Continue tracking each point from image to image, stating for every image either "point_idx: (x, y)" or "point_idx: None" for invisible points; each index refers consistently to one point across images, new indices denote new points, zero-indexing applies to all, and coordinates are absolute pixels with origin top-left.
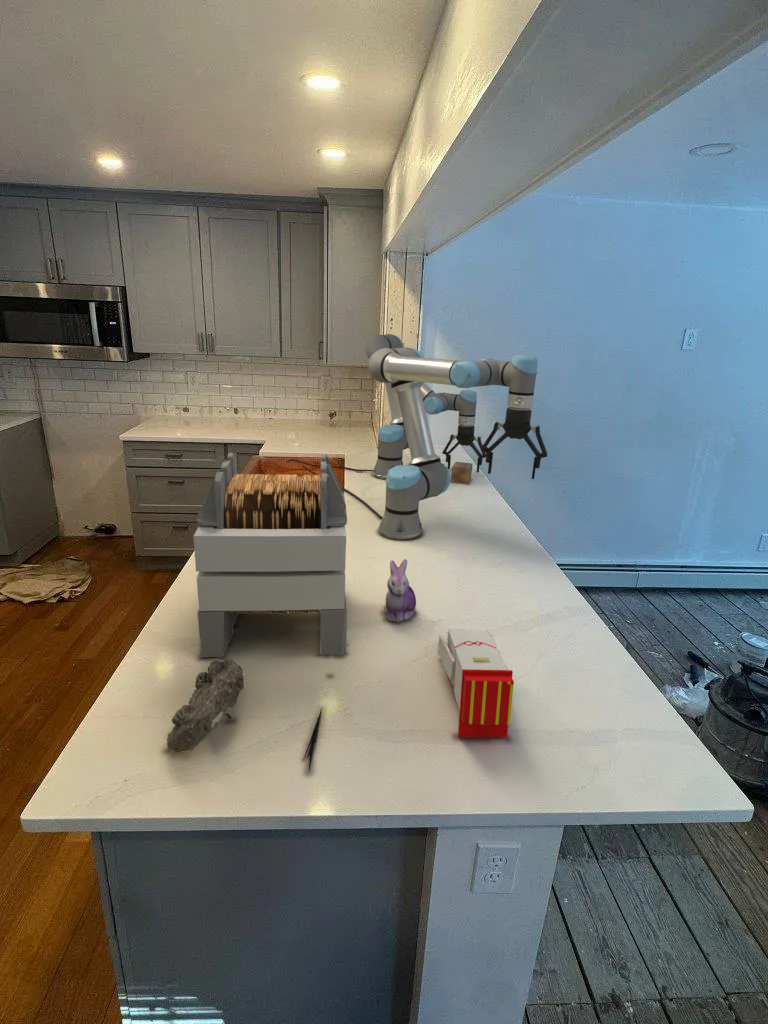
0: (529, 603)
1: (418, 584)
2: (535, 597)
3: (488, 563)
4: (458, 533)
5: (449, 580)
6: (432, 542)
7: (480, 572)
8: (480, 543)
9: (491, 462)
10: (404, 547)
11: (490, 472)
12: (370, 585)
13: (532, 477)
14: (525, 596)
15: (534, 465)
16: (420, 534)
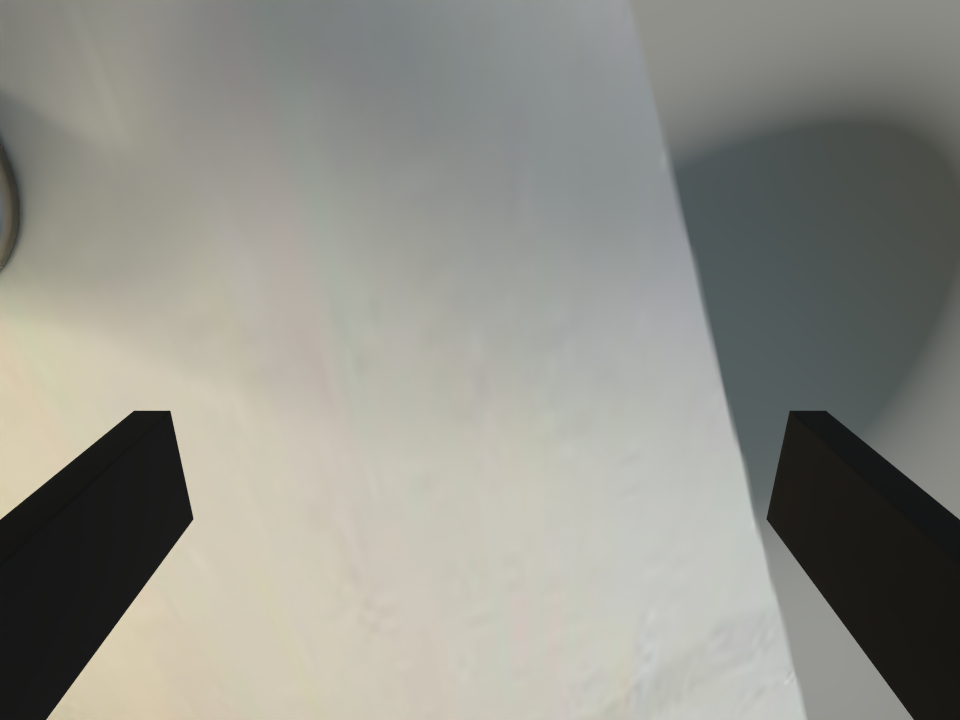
0: (606, 637)
1: (233, 636)
2: (628, 598)
3: (435, 396)
4: (193, 46)
5: (322, 581)
6: (115, 253)
7: (417, 488)
8: (354, 163)
9: (87, 650)
10: (26, 365)
11: (180, 506)
12: (97, 685)
13: (786, 530)
14: (594, 602)
15: (915, 693)
16: (11, 199)
